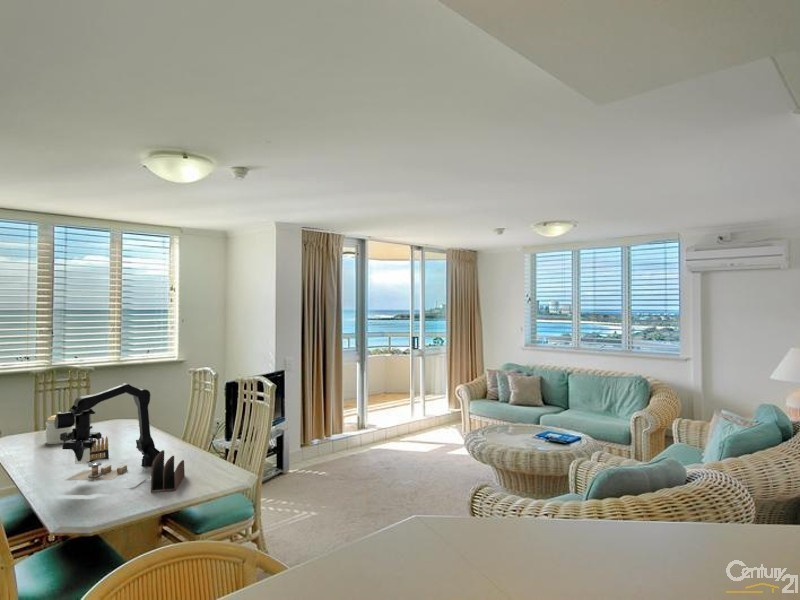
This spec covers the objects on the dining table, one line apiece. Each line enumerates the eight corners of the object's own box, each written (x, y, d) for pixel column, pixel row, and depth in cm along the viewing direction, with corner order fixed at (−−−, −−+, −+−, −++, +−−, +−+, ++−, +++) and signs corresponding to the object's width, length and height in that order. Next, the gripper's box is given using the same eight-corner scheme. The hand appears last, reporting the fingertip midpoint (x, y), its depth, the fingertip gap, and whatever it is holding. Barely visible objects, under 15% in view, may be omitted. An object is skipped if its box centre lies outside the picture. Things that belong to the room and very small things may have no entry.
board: (127, 472, 237) (127, 469, 237) (110, 483, 223) (110, 479, 223) (84, 473, 237) (84, 469, 237) (64, 483, 223) (64, 480, 223)
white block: (89, 461, 225) (89, 447, 225) (83, 463, 221) (83, 450, 221) (81, 461, 225) (81, 447, 225) (75, 463, 221) (75, 450, 221)
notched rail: (127, 470, 237) (127, 464, 237) (121, 473, 232) (121, 468, 232) (107, 470, 237) (107, 464, 237) (100, 473, 232) (100, 468, 232)
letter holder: (150, 493, 211) (150, 460, 212) (162, 477, 231) (162, 447, 231) (175, 491, 214) (175, 458, 214) (184, 476, 233) (184, 446, 233)
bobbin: (103, 473, 232) (103, 462, 232) (97, 477, 226) (97, 465, 226) (92, 473, 232) (92, 462, 232) (85, 477, 226) (85, 465, 226)
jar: (41, 445, 287) (41, 414, 287) (51, 439, 299) (51, 410, 299) (66, 443, 290) (66, 413, 290) (75, 438, 302) (75, 409, 302)
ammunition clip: (85, 463, 252) (85, 440, 252) (84, 462, 254) (84, 439, 254) (108, 459, 259) (109, 436, 259) (108, 458, 261) (108, 435, 261)
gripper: (79, 420, 232) (78, 453, 232) (50, 430, 214) (49, 466, 214) (102, 420, 232) (102, 453, 232) (75, 430, 214) (75, 466, 213)
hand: (82, 459), depth 223 cm, fingers closed on white block, 4 cm apart
